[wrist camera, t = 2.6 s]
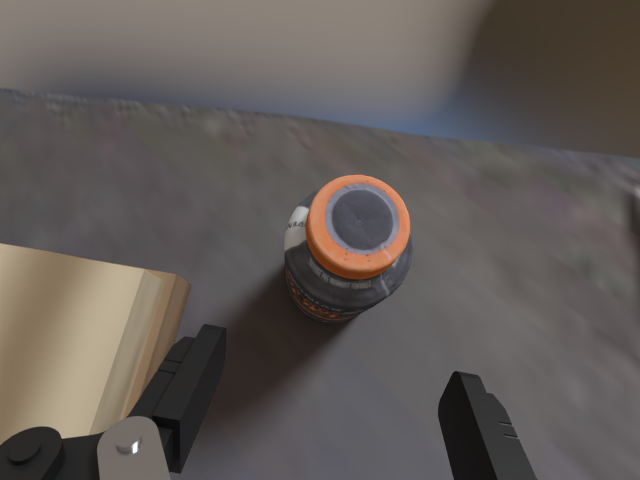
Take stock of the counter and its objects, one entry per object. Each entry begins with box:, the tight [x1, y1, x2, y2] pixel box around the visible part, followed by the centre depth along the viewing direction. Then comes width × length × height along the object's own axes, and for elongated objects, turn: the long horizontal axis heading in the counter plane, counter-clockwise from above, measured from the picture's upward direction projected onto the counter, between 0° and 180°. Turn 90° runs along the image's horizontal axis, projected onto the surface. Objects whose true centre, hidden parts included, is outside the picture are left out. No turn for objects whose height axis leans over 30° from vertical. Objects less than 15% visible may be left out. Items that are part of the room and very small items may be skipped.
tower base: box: [0, 243, 191, 445], centre depth 19 cm, size 10×10×6 cm
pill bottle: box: [284, 175, 412, 323], centre depth 19 cm, size 6×6×11 cm
